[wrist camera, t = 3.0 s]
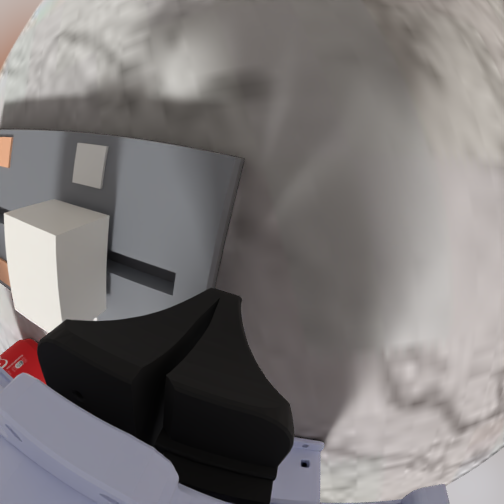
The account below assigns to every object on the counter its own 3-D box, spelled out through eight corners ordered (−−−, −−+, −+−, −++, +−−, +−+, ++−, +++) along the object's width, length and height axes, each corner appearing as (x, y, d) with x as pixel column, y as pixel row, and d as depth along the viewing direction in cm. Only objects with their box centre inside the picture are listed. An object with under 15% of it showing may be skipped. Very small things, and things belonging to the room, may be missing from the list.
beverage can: (35, 369, 21) (-27, 431, 10) (17, 329, 20) (-56, 390, 8) (64, 383, 21) (-2, 458, 9) (45, 341, 19) (-37, 416, 8)
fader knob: (126, 210, 13) (55, 235, 8) (120, 297, 14) (65, 344, 10) (71, 195, 13) (3, 213, 8) (69, 275, 14) (14, 309, 10)
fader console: (244, 158, 12) (234, 157, 10) (199, 362, 16) (188, 385, 14) (0, 129, 13) (-19, 130, 11) (-2, 262, 17) (-18, 270, 15)
